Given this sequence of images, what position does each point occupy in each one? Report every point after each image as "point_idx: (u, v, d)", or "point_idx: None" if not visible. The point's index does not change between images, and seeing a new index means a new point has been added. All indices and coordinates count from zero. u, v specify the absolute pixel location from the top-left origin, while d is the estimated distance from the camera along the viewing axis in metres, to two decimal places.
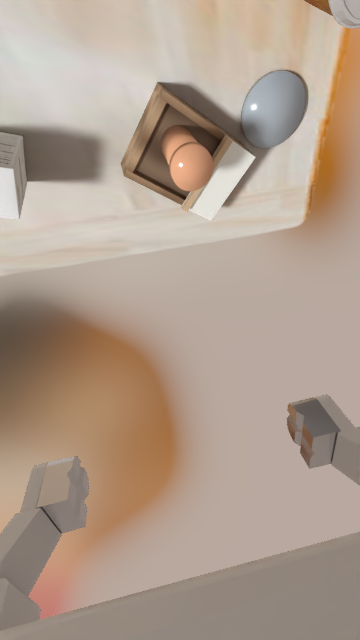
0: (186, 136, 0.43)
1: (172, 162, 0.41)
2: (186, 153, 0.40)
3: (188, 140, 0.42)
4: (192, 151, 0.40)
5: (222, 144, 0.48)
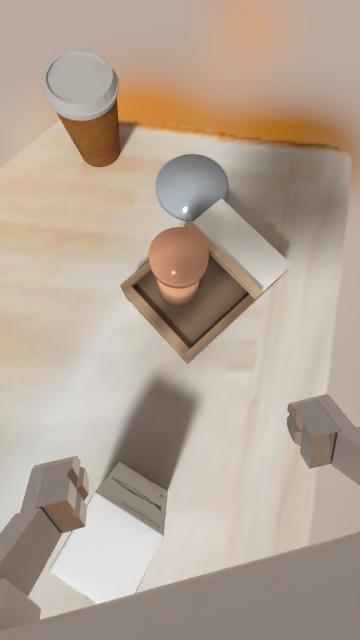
0: None
1: (160, 278, 0.30)
2: (154, 258, 0.30)
3: None
4: (155, 250, 0.30)
5: None
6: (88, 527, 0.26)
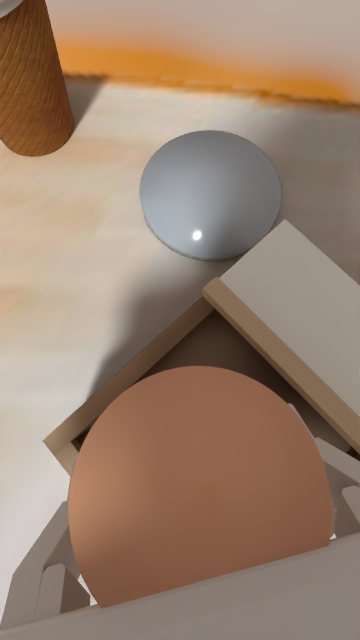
0: None
1: None
2: (95, 522, 0.07)
3: None
4: (97, 481, 0.07)
5: (217, 306, 0.16)
6: None
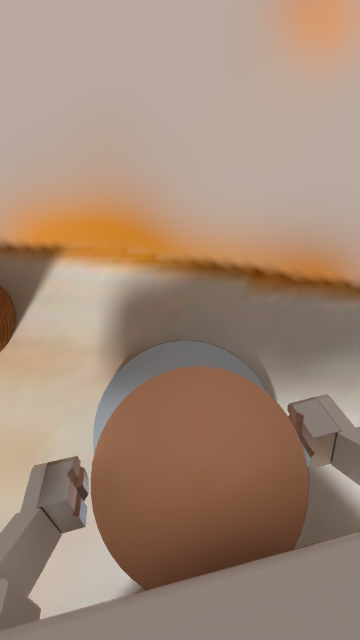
0: None
1: None
2: (113, 496, 0.08)
3: None
4: (114, 462, 0.08)
5: None
6: None
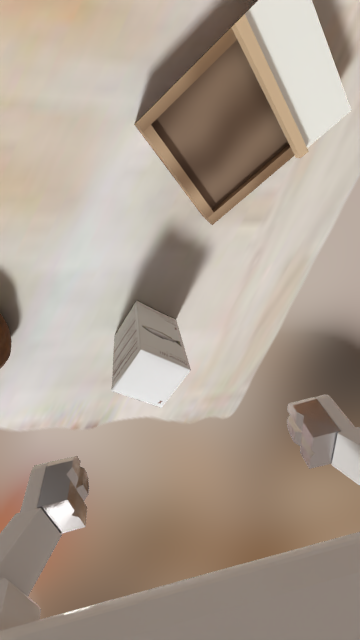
0: None
1: None
2: None
3: None
4: None
5: (240, 39, 0.27)
6: (137, 369, 0.36)
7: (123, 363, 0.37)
